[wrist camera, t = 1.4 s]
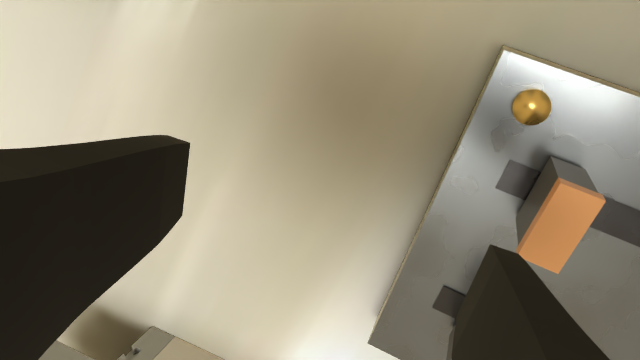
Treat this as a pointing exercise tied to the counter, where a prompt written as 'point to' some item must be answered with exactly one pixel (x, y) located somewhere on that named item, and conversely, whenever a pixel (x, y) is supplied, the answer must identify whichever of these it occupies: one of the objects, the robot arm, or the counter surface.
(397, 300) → the panel
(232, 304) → the counter surface
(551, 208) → the tagged lever
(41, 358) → the circuit breaker
